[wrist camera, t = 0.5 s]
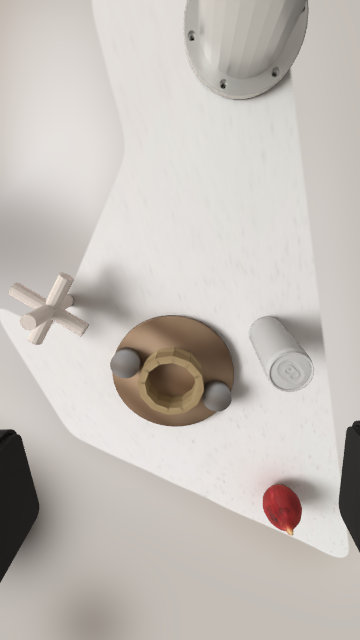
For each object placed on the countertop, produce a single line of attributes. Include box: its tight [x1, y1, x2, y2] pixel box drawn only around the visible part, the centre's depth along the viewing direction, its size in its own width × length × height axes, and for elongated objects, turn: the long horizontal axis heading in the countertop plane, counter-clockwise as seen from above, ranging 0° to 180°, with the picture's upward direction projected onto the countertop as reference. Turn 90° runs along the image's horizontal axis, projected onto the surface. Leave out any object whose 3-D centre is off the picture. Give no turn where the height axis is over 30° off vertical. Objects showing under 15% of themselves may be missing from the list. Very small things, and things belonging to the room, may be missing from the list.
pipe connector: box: [9, 273, 89, 345], centre depth 36 cm, size 10×10×10 cm
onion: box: [263, 484, 302, 535], centre depth 46 cm, size 6×6×8 cm
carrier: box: [110, 315, 234, 426], centre depth 42 cm, size 18×18×4 cm
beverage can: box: [249, 317, 314, 392], centre depth 35 cm, size 5×5×12 cm
